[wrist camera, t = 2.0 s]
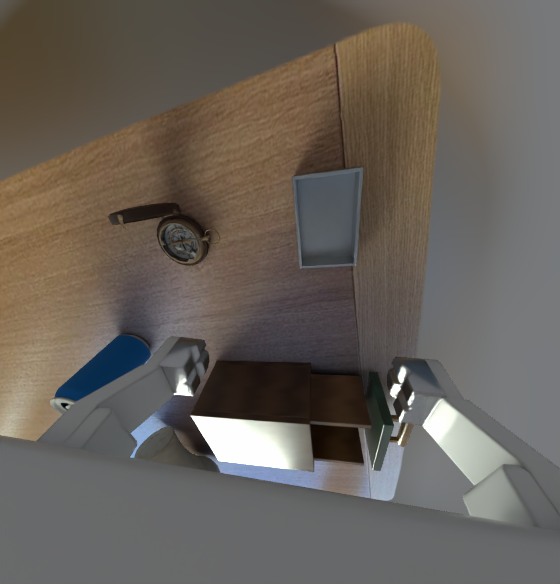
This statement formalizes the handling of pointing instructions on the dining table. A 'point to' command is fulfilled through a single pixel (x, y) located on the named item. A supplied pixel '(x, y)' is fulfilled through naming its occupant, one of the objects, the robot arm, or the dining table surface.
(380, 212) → the dining table surface
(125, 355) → the beverage can
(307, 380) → the cabinet
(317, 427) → the drawer
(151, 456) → the vase
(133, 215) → the compass
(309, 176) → the tray
